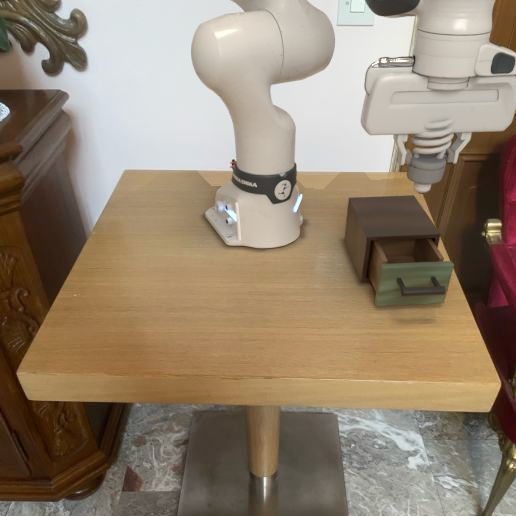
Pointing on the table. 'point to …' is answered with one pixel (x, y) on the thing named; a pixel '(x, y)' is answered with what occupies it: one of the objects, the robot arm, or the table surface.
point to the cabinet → (384, 225)
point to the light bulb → (429, 156)
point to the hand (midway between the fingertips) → (426, 163)
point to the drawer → (408, 272)
